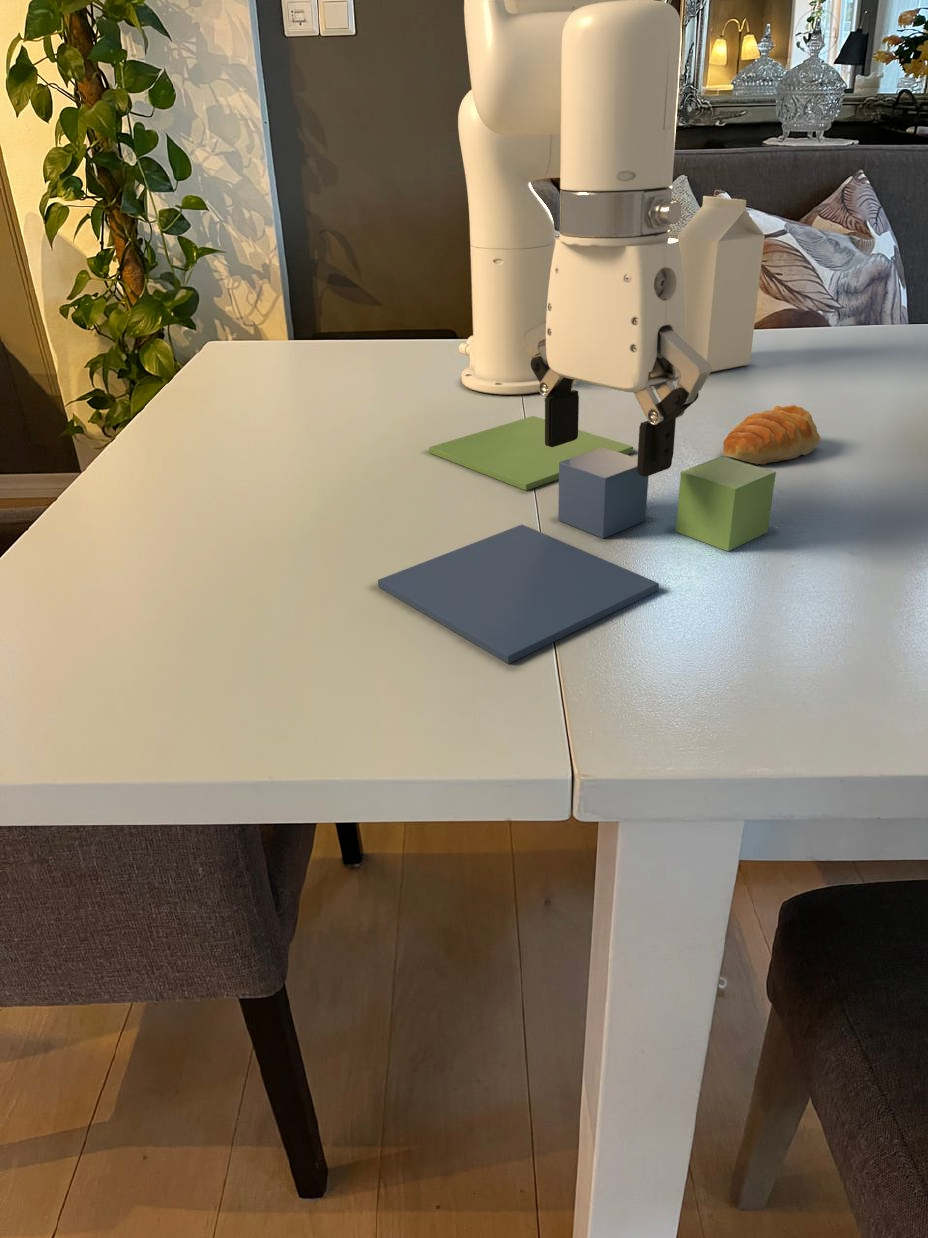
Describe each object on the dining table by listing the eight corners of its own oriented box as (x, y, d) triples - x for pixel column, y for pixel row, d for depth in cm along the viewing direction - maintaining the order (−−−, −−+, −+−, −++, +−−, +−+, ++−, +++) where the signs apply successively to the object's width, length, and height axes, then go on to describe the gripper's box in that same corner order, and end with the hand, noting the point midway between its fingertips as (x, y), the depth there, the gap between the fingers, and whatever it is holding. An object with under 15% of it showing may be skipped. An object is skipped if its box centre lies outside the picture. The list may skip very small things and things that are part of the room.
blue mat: (378, 587, 66) (377, 579, 66) (522, 530, 73) (522, 524, 73) (508, 664, 56) (508, 656, 56) (658, 590, 64) (659, 583, 64)
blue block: (557, 520, 75) (558, 461, 72) (600, 503, 78) (602, 446, 75) (603, 538, 72) (605, 478, 69) (645, 520, 74) (649, 461, 72)
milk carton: (705, 374, 111) (721, 202, 102) (667, 362, 117) (679, 198, 107) (750, 365, 114) (770, 197, 104) (711, 354, 119) (727, 193, 110)
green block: (675, 531, 72) (680, 471, 70) (715, 514, 75) (721, 455, 72) (728, 551, 69) (735, 489, 66) (767, 532, 71) (776, 471, 69)
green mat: (428, 452, 90) (428, 446, 90) (533, 420, 98) (533, 415, 98) (526, 490, 81) (526, 484, 80) (633, 452, 88) (633, 446, 88)
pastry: (763, 474, 82) (768, 433, 80) (702, 456, 87) (705, 417, 85) (823, 449, 87) (829, 410, 85) (762, 434, 92) (767, 396, 90)
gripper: (754, 218, 59) (728, 471, 68) (564, 207, 71) (561, 423, 79) (679, 230, 55) (661, 498, 63) (491, 216, 67) (496, 443, 75)
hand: (605, 456), depth 71 cm, fingers open, 9 cm apart
